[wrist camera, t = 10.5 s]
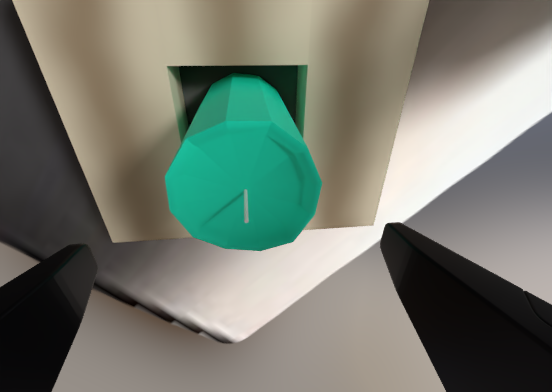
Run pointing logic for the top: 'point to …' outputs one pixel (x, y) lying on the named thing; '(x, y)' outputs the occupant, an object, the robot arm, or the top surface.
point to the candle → (243, 169)
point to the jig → (223, 52)
